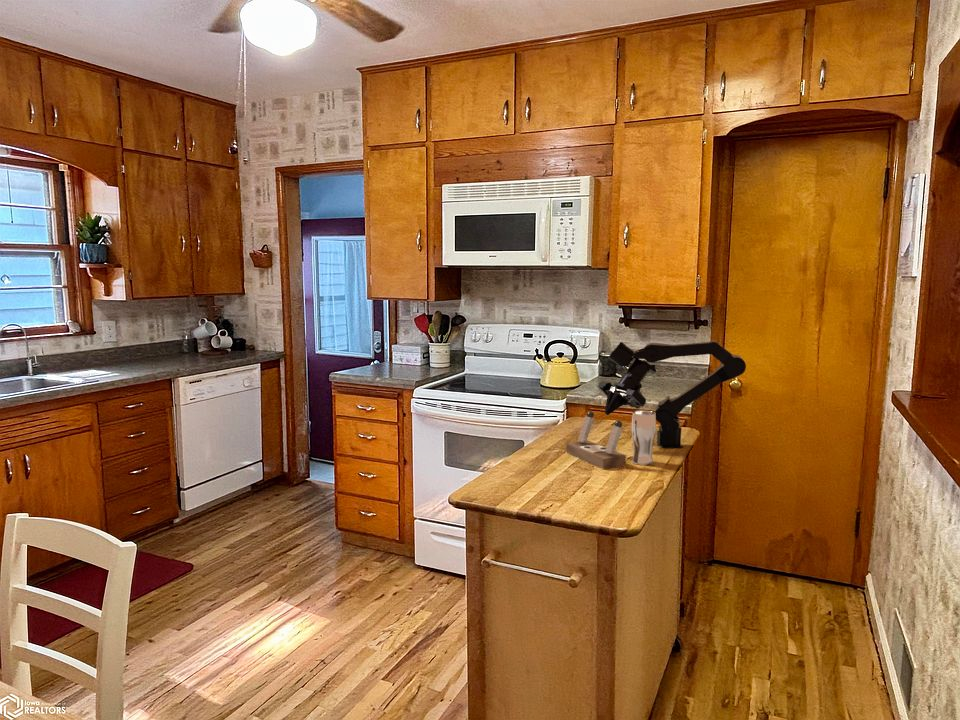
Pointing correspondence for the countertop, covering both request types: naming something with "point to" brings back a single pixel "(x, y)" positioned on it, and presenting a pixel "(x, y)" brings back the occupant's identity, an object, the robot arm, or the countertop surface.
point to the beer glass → (643, 436)
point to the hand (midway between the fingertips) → (606, 414)
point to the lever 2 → (614, 437)
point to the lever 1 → (586, 427)
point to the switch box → (595, 454)
